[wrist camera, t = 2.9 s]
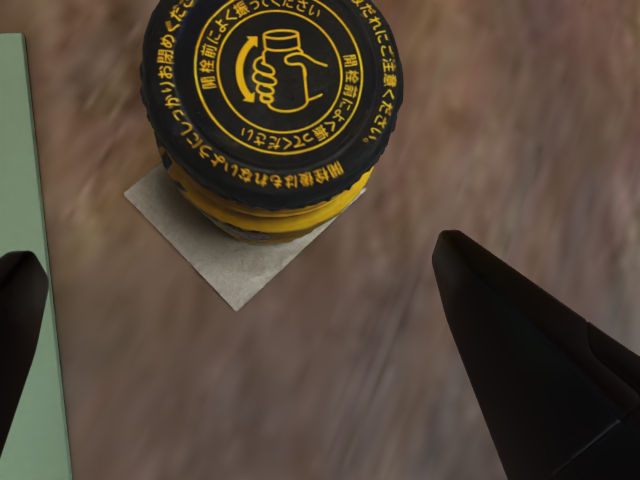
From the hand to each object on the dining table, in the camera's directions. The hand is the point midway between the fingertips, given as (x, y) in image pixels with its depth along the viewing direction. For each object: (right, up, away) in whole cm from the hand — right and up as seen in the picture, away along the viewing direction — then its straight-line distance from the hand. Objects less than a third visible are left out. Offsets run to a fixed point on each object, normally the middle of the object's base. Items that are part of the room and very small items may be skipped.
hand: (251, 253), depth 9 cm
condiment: (-2, +3, +10) cm, 11 cm away
